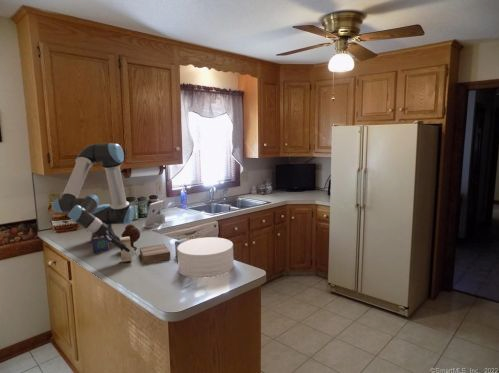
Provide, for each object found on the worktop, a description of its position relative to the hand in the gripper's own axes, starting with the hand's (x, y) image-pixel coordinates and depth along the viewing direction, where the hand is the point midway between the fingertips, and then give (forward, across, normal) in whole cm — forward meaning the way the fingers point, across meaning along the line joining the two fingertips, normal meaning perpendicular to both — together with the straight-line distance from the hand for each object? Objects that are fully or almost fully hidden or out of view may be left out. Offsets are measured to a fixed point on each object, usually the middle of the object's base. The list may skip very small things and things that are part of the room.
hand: (133, 252), depth 187 cm
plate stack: (+26, +28, +20) cm, 43 cm away
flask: (-8, -25, -14) cm, 30 cm away
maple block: (0, 0, -5) cm, 5 cm away
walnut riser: (+11, 0, +5) cm, 12 cm away
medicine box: (+22, +5, +15) cm, 27 cm away
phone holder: (+20, -73, +13) cm, 77 cm away
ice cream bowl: (+4, -20, -2) cm, 21 cm away
